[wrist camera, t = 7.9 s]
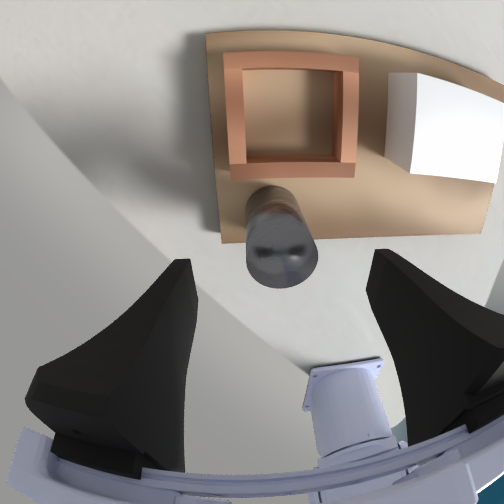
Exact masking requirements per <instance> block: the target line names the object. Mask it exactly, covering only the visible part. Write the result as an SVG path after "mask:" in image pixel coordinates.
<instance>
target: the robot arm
mask: <svg viewBox="0 0 504 504" xmlns="http://www.w3.org/2000/svg"><path fill="white" fill-rule="evenodd" d="M366 292H367V296H368V299H369V302H370V305H371V309H372V311H373V314H374V316H375V318H376V320H377V323H378V325H379V327H380V329H381V331H382V334H383V336H384V338H385V340H386V343H387V345H388V347H389V350H390V352H391V355H392V357H393V360H394V363H395V367H396V371H397V375H398V378H399V382H400V387H401V392H402V397H403V402H404V409H405V415H406V424H407V436H408V443H406V442H405V441H400V442H398V443H397V440H396V437H395V436H392V432H391V429H390V425H389V422H388V419H387V415H386V412H385V409H384V406H383V403H382V400H381V396H380V393H379V390H378V387H377V384H376V381H375V380H376V378H377V376H378V374H379V372H380V370H381V368H382V366H383V364H384V359H383V358H379V359H373V360H368V361H361V362H355V363H349V364H342V365H334V366H326V367H318V368H313V369H312V370H311V371H310V376H309V381H308V385H307V390H306V394H305V398H304V403H303V407H302V410H303V411H311V415H312V421H313V428H314V434H315V440H316V447H317V451H318V453H319V455H320V456H321V459H318V465H319V467H314V468H313V469H312V470H304V471H296V472H286V473H274V474H256V475H211V474H194V473H185V462H184V401H185V385H186V375H187V368H188V363H189V357H190V352H191V347H192V343H193V337H194V332H195V327H196V322H197V310H198V296H197V291H196V286H195V281H194V276H193V271H192V266H191V260H190V259H175V260H174V261H173V262H172V263H171V264H170V265H169V266H168V267H167V269H166V270H165V271H164V272H163V273H162V274H161V275H160V276H159V278H158V279H157V280H156V281H155V282H154V283H153V284H152V285H151V286H150V288H149V289H148V290H147V291H146V292H145V293H144V294H143V295H142V296H141V297H140V298H139V299H138V300H137V301H136V302H135V303H134V304H133V305H132V306H131V307H130V308H129V309H128V310H127V311H126V312H124V313H123V314H122V315H121V316H120V317H119V318H118V319H116V320H115V321H114V322H113V323H112V324H110V325H109V326H108V327H106V328H105V329H104V330H102V331H101V332H100V333H98V334H97V335H95V336H94V337H93V338H91V339H90V340H88V341H87V342H85V343H84V344H82V345H81V346H79V347H77V348H76V349H74V350H72V351H70V352H69V353H67V354H65V355H64V356H61V357H59V358H57V359H55V360H53V361H51V362H49V363H47V364H45V365H43V366H40V367H39V368H38V369H37V371H36V374H35V376H34V378H33V380H32V383H31V385H30V388H29V390H28V392H27V395H26V397H25V403H26V405H27V407H28V408H29V410H30V411H31V412H32V413H33V414H34V415H35V416H36V417H37V418H39V419H40V420H41V421H42V422H43V423H44V424H46V425H47V426H48V427H49V428H50V429H52V430H53V431H54V432H55V436H54V440H53V439H51V438H49V437H48V436H45V435H43V434H40V433H38V432H36V431H33V430H31V429H28V428H26V427H23V428H22V430H21V433H20V436H19V439H18V442H17V446H16V449H15V452H14V456H13V459H12V463H11V467H10V471H9V475H8V480H7V485H8V486H10V487H11V488H13V489H15V490H16V491H18V492H19V493H21V494H23V495H25V496H26V497H28V498H30V499H32V500H33V501H35V502H37V503H39V504H231V502H230V501H229V500H219V499H209V498H202V497H223V498H251V497H273V496H285V495H295V494H303V493H308V498H309V503H310V504H476V503H477V501H478V496H477V493H479V492H480V491H481V490H483V489H484V488H486V487H487V486H488V485H490V484H491V483H492V482H494V481H495V480H496V479H498V478H499V477H500V476H501V475H503V474H504V315H502V314H499V313H496V312H494V311H492V310H489V309H487V308H485V307H483V306H481V305H478V304H476V303H474V302H472V301H470V300H468V299H466V298H465V297H463V296H461V295H459V294H457V293H456V292H454V291H452V290H450V289H449V288H447V287H446V286H444V285H443V284H441V283H439V282H438V281H436V280H435V279H433V278H432V277H430V276H429V275H427V274H426V273H424V272H423V271H422V270H420V269H419V268H417V267H416V266H414V265H413V264H411V263H410V262H409V261H407V260H406V259H404V258H403V257H401V256H400V255H398V254H396V253H395V252H393V251H391V250H389V249H375V252H374V256H373V261H372V265H371V270H370V274H369V278H368V282H367V286H366ZM434 458H435V459H434ZM432 459H434V460H432ZM429 460H432V461H430V462H428V463H426V464H424V465H421V466H419V467H418V465H419V464H422V463H424V462H427V461H429ZM186 495H189V496H186ZM195 496H202V497H195Z"/></svg>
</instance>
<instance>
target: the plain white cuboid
mask: <svg viewBox="0 0 504 504" xmlns="http://www.w3.org/2000/svg"><path fill="white" fill-rule="evenodd" d="M503 139H504V103H502V102H500V101H498V100H496V99H493V98H491V97H489V96H486V95H484V94H481V93H479V92H476V91H473V90H471V89H468V88H465V87H462V86H460V85H457V84H454V83H451V82H448V81H444V80H441V79H438V78H434V77H431V76H427V75H424V74H420V73H388V109H387V127H386V141H385V153H384V158H386V159H388V160H389V161H391V162H393V163H394V164H396V165H397V166H399V167H401V168H402V169H404V170H405V171H407V172H408V173H410V174H422V175H434V176H444V177H453V178H462V179H470V180H477V181H485V182H491V183H496V181H497V176H498V171H499V165H500V159H501V153H502V146H503Z"/></svg>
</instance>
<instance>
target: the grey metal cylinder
mask: <svg viewBox="0 0 504 504" xmlns="http://www.w3.org/2000/svg"><path fill="white" fill-rule="evenodd" d="M245 219H246V263H247V268H248V271H249V273H250V274H251V276H252V277H253V278H254V279H255V280H256V281H257V282H259V283H260V284H262V285H264V286H267V287H271V288H288V287H292V286H295V285H297V284H300V283H301V282H303V281H304V280H306V279H307V278H308V277H309V276H310V275H311V274H312V272H313V271H314V269H315V267H316V265H317V261H318V251H317V247H316V245H315V242H314V240H313V237H312V235H311V233H310V230H309V228H308V225H307V223H306V221H305V218H304V216H303V214H302V211H301V209H300V207H299V205H298V202H297V200H296V198H295V197H294V195H293V194H292V193H291V192H290V191H289V190H287V189H285V188H283V187H280V186H265V187H262V188H260V189H258V190H257V191H255V192H254V193H253V194H252V195H251V196H250V197H249V199H248V201H247V204H246V208H245Z"/></svg>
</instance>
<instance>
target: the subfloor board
mask: <svg viewBox="0 0 504 504" xmlns="http://www.w3.org/2000/svg"><path fill="white" fill-rule="evenodd" d="M206 52H207V71H208V87H209V103H210V117H211V131H212V143H213V156H214V168H215V179H216V190H217V201H218V211H219V221H220V231H221V240H222V244H226V243H246V219H245V208H246V204H247V201H248V199H249V197H250V196H251V195H252V194H253V193H254V192H255V191H257V190H258V189H260V188H262V187H265V186H280V187H283V188H285V189H287V190H289V191H290V192H291V193H292V194H293V195H294V197H295V198H296V200H297V202H298V205H299V207H300V209H301V211H302V214H303V216H304V218H305V221H306V223H307V225H308V228H309V230H310V233H311V235H312V237H313V239H336V238H362V237H389V236H418V235H451V234H481V232H482V228H483V225H484V222H485V218H486V215H487V211H488V207H489V204H490V200H491V196H492V191H493V187H494V183H491V182H485V181H477V180H470V179H462V178H453V177H444V176H434V175H422V174H410V173H408V172H407V171H405V170H404V169H402V168H401V167H399V166H397V165H396V164H394V163H393V162H391V161H389V160H388V159H386V158H384V153H385V141H386V127H387V109H388V73H420V74H424V75H427V76H431V77H434V78H438V79H441V80H444V81H448V82H451V83H454V84H457V85H460V86H462V87H465V88H468V89H471V90H473V91H476V92H479V93H481V94H484V95H486V96H489V97H491V98H493V99H496V100H498V101H500V102H502V103H504V85H502V84H500V83H498V82H496V81H494V80H492V79H490V78H488V77H486V76H483V75H481V74H479V73H477V72H474V71H472V70H470V69H467V68H465V67H462V66H460V65H457V64H454V63H452V62H449V61H446V60H443V59H441V58H438V57H435V56H431V55H428V54H425V53H422V52H418V51H415V50H411V49H408V48H404V47H400V46H396V45H392V44H387V43H383V42H378V41H373V40H368V39H362V38H356V37H350V36H343V35H335V34H327V33H317V32H304V31H282V30H252V31H230V32H217V33H207V34H206Z"/></svg>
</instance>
